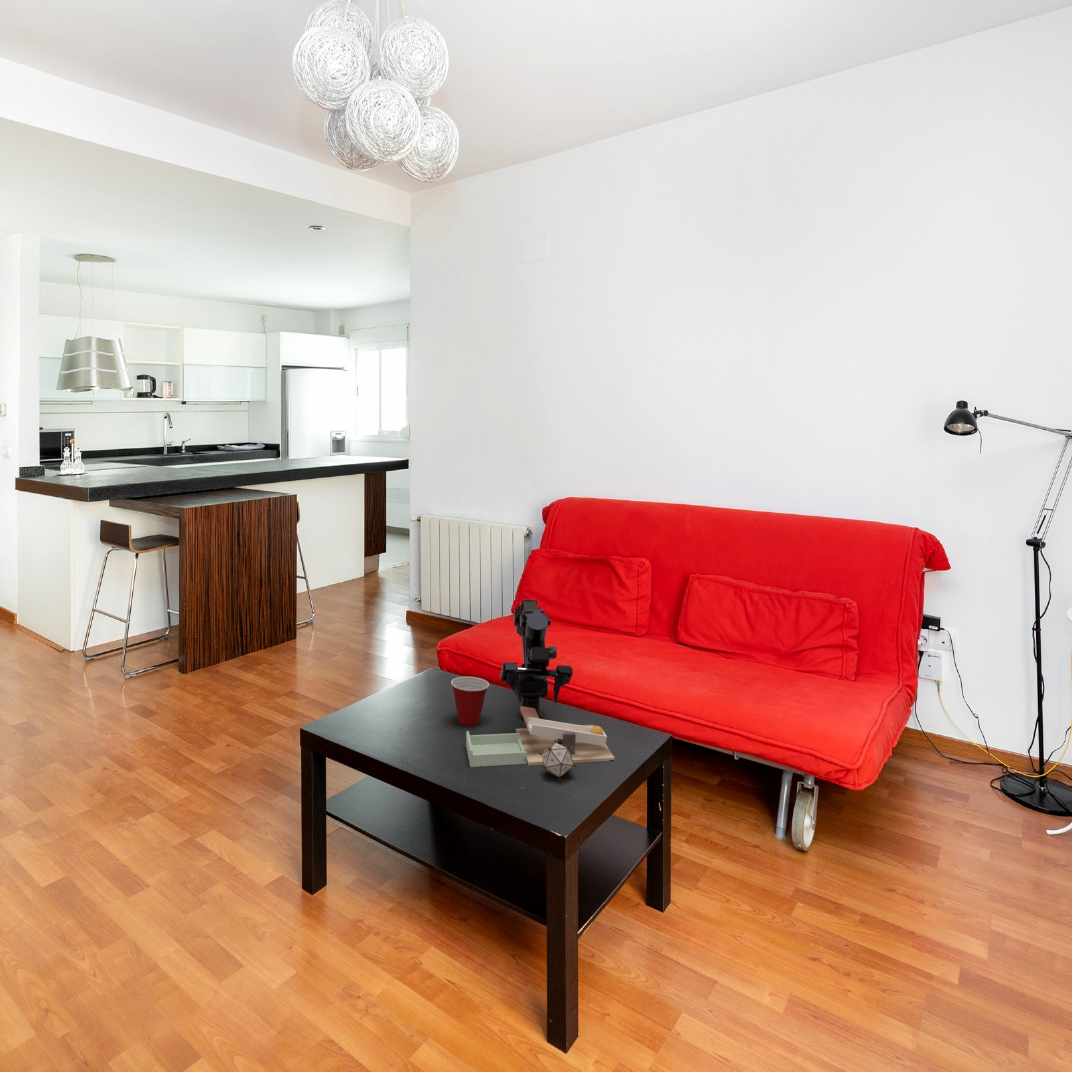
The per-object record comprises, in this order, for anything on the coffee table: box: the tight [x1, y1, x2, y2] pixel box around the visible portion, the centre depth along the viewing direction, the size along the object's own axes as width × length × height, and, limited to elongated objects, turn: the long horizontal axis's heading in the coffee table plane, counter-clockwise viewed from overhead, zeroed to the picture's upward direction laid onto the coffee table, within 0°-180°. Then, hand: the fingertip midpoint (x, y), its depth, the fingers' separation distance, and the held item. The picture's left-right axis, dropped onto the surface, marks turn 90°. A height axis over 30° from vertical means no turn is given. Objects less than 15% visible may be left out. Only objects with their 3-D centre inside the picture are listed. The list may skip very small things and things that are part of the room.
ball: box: [591, 725, 604, 735], centre depth 189 cm, size 3×3×3 cm
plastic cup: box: [450, 676, 490, 727], centre depth 205 cm, size 11×11×12 cm
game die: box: [539, 739, 578, 782], centre depth 174 cm, size 9×8×10 cm
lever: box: [519, 705, 608, 746], centre depth 193 cm, size 17×20×3 cm
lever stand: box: [515, 722, 615, 766], centre depth 191 cm, size 21×22×6 cm
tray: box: [465, 730, 528, 768], centre depth 185 cm, size 12×14×4 cm
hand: (537, 702), depth 188 cm, fingers open, 9 cm apart
